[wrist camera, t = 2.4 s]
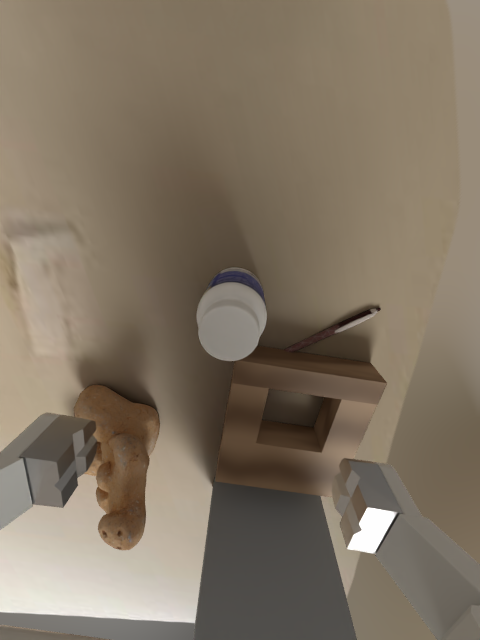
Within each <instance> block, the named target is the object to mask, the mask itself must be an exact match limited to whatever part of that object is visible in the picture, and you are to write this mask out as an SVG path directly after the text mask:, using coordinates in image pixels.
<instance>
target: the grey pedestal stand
mask: <svg viewBox="0 0 480 640" xmlns="http://www.w3.org/2000/svg"><path fill="white" fill-rule="evenodd" d="M215 478H216V477H215ZM215 478H214V483H213V490H212V498H211V505H210V513H209V521H208V528H207V536H206V544H205V552H204V559H203V567H202V575H201V582H200V590H199V598H198V606H197V613H196V621H195V629H194V637H193V640H357V638H356V634H355V631H354V627H353V623H352V619H351V615H350V611H349V607H348V603H347V599H346V595H345V591H344V587H343V583H342V579H341V576H340V572H339V568H338V564H337V560H336V556H335V552H334V548H333V544H332V540H331V536H330V532H329V528H328V525H327V521H326V517H325V513H324V509H323V505H322V501H321V497H320V496H318V495H311V494H303V493H296V492H289V491H281V490H274V489H267V488H259V487H252V486H245V485H237V484H230V483H223V482H215Z"/></svg>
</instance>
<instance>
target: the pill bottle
mask: <svg viewBox="0 0 480 640" xmlns="http://www.w3.org/2000/svg"><path fill="white" fill-rule="evenodd" d="M196 317H197V324H198V327H199V329H198V336H199V340H200V343H201V345H202V346H203V348H204V349H205V350H206V352H207V353H209V354H210V355H211V356H213V357H215V358H217V359H220V360H224V361H236V360H240V359H243V358H245V357H247V356H248V355H249V354H251V353H252V352H253V351H254V349H255V348H256V346H257V344H258V342H259V337H260V336H261V334H262V333H263V331H264V328H265V326H266V321H267V311H266V304H265V299H264V293H263V288H262V285H261V283H260V281H259V280H258V278H257V277H256V276H255V275H254V274H253V273H251V272H250V271H248V270H246V269H243V268H237V267H233V268H227V269H224V270H222V271H220V272H219V273H217V274H216V275H215V276H214V277H213V279H212V280H211V282H210V284H209V285H208V287H207V289H206V291H205V293H204V294H203V296H202V298H201V300H200V302H199V305H198V308H197V315H196Z"/></svg>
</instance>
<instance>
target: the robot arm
mask: <svg viewBox="0 0 480 640" xmlns="http://www.w3.org/2000/svg"><path fill="white" fill-rule="evenodd" d="M95 431H96V422H95V421H93V420H89V419H83V418H77V417H72V416H66V415H59V414H53V413H48V412H47V413H44V414H42V415H40V416H39V417H38V418H37V419H36V420H35V421H34V422H33V423H32V424H31V425H30V426H28V427H27V428H26V429H25V430H24V431H23V432H22V433H21V434H20V435H19V436H18V437H17V438H15V439H14V440H13V441H12V442H11V443H10V444H9V445H8V446H7V447H6V448H5V449H4V450H3V451H1V452H0V530H1V529H2V528H4V527H5V526H7V525H8V524H9V523H11V522H12V521H13V520H15V519H16V518H17V517H19V516H20V515H21V514H23V513H24V512H26V511H27V510H28V509H30V508H31V507H32V506H33V505H32V504H35V505H44V506H52V507H61V508H63V507H64V506H65V504H66V503H67V501H68V500H69V498H70V496H71V495H72V493H73V492H74V490H75V489H76V487H77V486H78V482H77V478H78V477H79V476H81V475H82V474H84V473H85V472H87V470H88V469H89V467H90V466H91V464H92V462H93V460H94V457H95V455H96V451H97V439H96V438H95V437H94V436H93V434H94V432H95ZM339 468H340V471H341V472H340V473H338V474H337V475H335V477H334V480H333V482H332V497H333V502H334V506H335V509H336V510H337V511H338V512H339V513H340V515H341V516H342V519H341V521H340V527H341V530H342V534H343V537H344V540H345V544H346V547H347V549H351V550H357V551H362V552H368V553H374V554H376V555H375V556H376V557H377V558H378V560H379V561H380V563H381V564H382V565H383V567H384V568H385V569H386V571H387V572H388V573H389V575H390V576H391V578H392V579H393V580H394V582H395V583H396V584H397V586H398V587H399V588H400V590H401V591H402V592H403V594H404V595H405V597H406V598H407V599H408V601H409V602H410V603H411V605H412V606H413V607H414V609H415V610H416V612H417V613H418V614H419V616H420V617H421V618H422V620H423V621H424V622H425V624H426V625H427V627H428V628H429V629H430V631H431V632H432V633H433V635H434V636H435V637H436V639H437V640H480V564H479V563H478V562H477V561H475V560H474V559H473V558H472V557H471V556H470V555H469V554H468V553H466V552H465V551H464V550H463V549H462V548H461V547H460V546H459V545H457V544H456V543H455V542H454V541H453V540H452V539H451V538H450V537H448V536H447V535H446V534H445V533H444V532H443V531H442V530H441V529H439V528H438V527H437V526H436V525H435V524H434V523H433V522H432V521H431V520H429V519H428V518H425V517H422V515H421V513H420V512H419V510H418V508H417V506H416V505H415V503H414V501H413V500H412V498H411V496H410V494H409V493H408V491H407V489H406V487H405V486H404V484H403V482H402V481H401V479H400V477H399V475H398V474H397V472H396V470H395V469H394V467H393V466H391V465H390V464H384V463H377V462H370V461H363V460H356V459H349V458H344V459H342V460H341V462H340V464H339ZM0 640H110V639H102V638H94V637H87V636H80V635H72V634H65V633H58V632H51V631H43V630H36V629H28V628H21V627H14V626H6V625H0Z"/></svg>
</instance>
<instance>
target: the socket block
mask: <svg viewBox="0 0 480 640" xmlns="http://www.w3.org/2000/svg"><path fill="white" fill-rule="evenodd" d="M386 385H387V382H386V381H385V380H384V379H383V377H382V376H381V375H380V374H379V373H378V371H377V370H376V369H375V368H374V366H373V365H372V364H371V363H367V362H361V361H354V360H348V359H341V358H335V357H328V356H322V355H315V354H309V353H302V352H296V351H295V352H286V351H284V350H283V349H276V348H270V347H263V346H256V348H255V349H254V351H253V352H252V353H251V354H249V355H248V356H247V357H245V358H243V359H240V360H236V361H235V362H234V367H233V373H232V379H231V385H230V391H229V396H228V402H227V408H226V414H225V420H224V425H223V431H222V437H221V443H220V449H219V454H218V462H217V470H216V478H215V482H223V483H230V484H237V485H245V486H252V487H259V488H267V489H274V490H281V491H289V492H296V493H303V494H311V495H318V496H325V497H332V482H333V480H334V477H335V475H337V474H338V473H340V472H341V471H340V468H339V464H340V462H341V460H342V459H344V458H349V459H354V457H355V454H356V452H357V450H358V448H359V445H360V443H361V441H362V439H363V436H364V434H365V432H366V430H367V427H368V425H369V423H370V421H371V418H372V416H373V414H374V412H375V410H376V407H377V405H378V403H379V401H380V398H381V396H382V394H383V392H384V389H385V387H386ZM269 389H275V390H281V391H288V392H295V393H302V394H308V395H315V396H322V397H324V400H323V402H322V405H321V408H320V411H319V414H318V417H317V420H316V423H315V426H314V427H307V426H300V425H293V424H286V423H279V422H272V421H265V420H262V416H263V412H264V408H265V404H266V400H267V395H268V391H269Z"/></svg>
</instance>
